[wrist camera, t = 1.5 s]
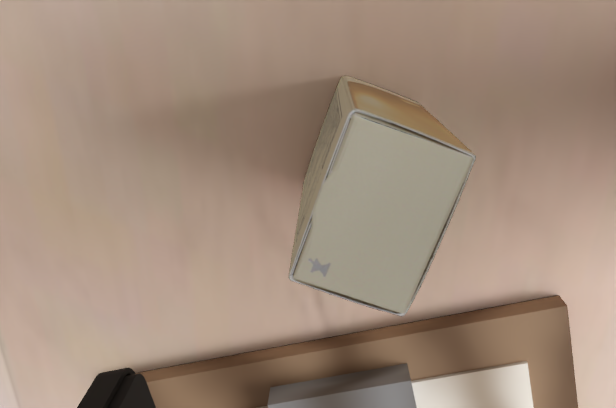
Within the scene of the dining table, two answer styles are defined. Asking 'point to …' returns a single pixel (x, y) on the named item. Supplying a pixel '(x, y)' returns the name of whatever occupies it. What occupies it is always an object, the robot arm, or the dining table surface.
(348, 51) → the dining table surface
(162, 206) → the dining table surface
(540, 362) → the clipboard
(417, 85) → the dining table surface
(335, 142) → the skincare box
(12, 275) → the dining table surface
